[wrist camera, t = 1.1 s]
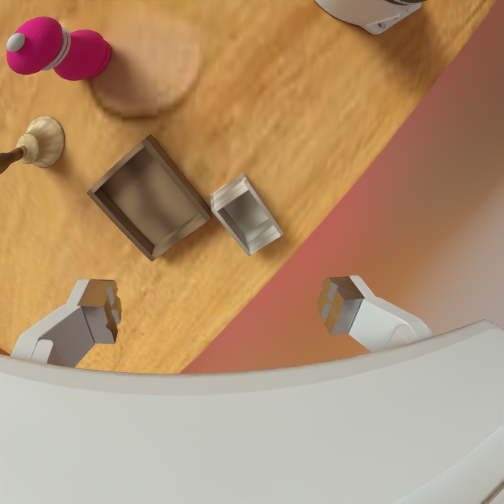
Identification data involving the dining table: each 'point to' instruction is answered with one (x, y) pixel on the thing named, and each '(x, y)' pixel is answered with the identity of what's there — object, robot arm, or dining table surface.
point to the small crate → (245, 215)
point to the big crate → (150, 199)
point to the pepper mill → (57, 50)
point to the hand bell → (37, 144)
